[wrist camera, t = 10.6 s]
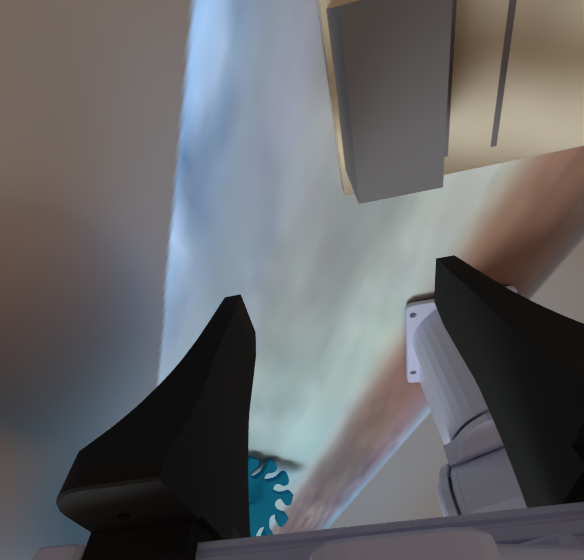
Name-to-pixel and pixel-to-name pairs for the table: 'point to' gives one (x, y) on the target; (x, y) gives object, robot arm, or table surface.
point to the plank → (502, 81)
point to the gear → (266, 496)
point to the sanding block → (392, 93)
